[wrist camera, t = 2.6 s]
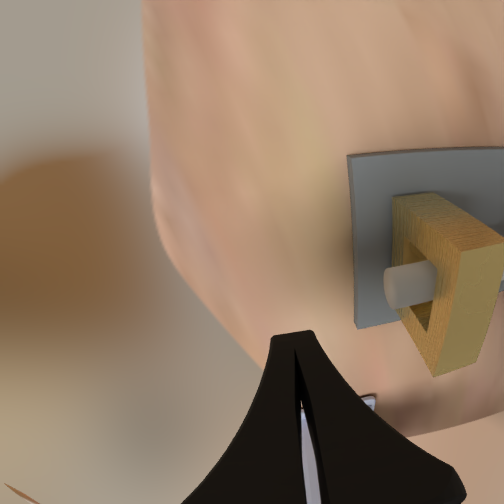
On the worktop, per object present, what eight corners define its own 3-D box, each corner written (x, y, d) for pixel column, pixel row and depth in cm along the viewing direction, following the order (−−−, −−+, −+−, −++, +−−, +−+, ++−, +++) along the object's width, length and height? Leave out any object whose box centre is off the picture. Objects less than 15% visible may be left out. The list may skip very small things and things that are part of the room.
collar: (433, 192, 14) (508, 241, 8) (425, 292, 16) (475, 361, 11) (392, 197, 14) (461, 252, 8) (389, 300, 16) (433, 377, 11)
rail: (540, 147, 13) (594, 168, 8) (523, 276, 17) (562, 313, 13) (346, 155, 14) (390, 180, 9) (353, 321, 18) (378, 384, 14)
